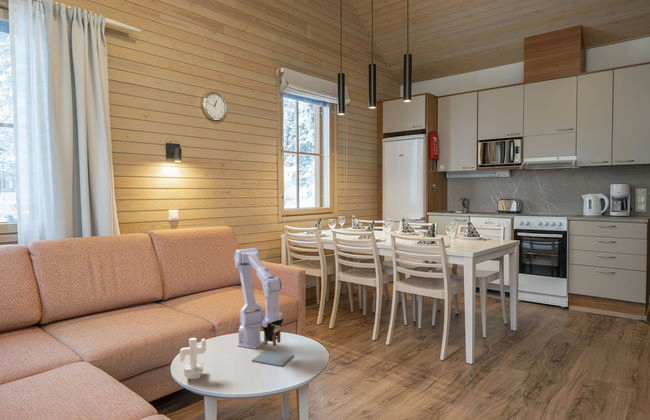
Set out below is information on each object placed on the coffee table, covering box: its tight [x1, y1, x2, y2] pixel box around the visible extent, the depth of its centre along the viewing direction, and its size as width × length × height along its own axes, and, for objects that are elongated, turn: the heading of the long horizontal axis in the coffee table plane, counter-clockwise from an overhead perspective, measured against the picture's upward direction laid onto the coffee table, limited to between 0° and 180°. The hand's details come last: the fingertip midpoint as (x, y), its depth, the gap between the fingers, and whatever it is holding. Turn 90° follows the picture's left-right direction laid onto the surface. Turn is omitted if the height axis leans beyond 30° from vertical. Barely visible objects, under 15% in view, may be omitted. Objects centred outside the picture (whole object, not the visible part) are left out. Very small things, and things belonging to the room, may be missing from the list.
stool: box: [263, 325, 281, 347], centre depth 175 cm, size 5×5×7 cm
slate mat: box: [251, 349, 295, 368], centre depth 176 cm, size 14×11×1 cm
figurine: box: [179, 337, 207, 380], centre depth 160 cm, size 7×9×15 cm
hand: (272, 338), depth 175 cm, fingers closed on stool, 5 cm apart
